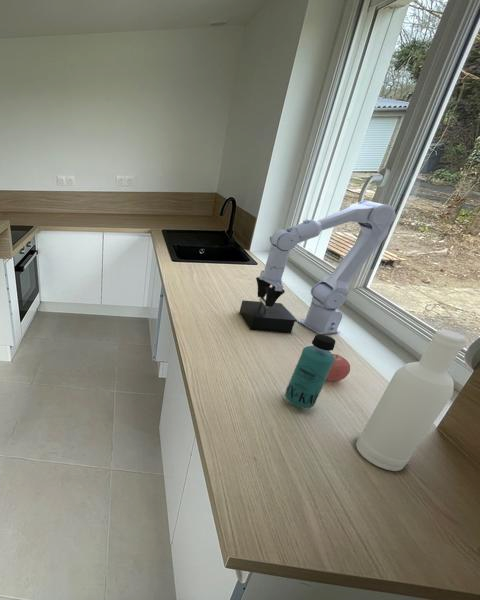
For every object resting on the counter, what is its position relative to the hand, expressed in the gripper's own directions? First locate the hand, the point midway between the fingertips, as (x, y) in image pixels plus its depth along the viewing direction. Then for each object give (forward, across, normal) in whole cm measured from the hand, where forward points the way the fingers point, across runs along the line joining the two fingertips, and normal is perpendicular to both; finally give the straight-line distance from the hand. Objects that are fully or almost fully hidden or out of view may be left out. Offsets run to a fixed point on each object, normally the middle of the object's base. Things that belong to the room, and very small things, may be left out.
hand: (264, 301), depth 115 cm
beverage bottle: (+9, +43, -5) cm, 45 cm away
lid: (+4, 0, +2) cm, 4 cm away
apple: (+9, +31, +8) cm, 33 cm away
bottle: (+9, +57, +5) cm, 58 cm away
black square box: (+8, 0, +2) cm, 9 cm away
